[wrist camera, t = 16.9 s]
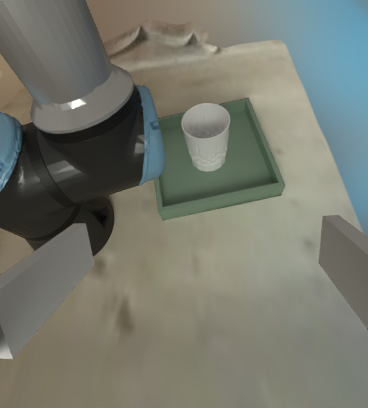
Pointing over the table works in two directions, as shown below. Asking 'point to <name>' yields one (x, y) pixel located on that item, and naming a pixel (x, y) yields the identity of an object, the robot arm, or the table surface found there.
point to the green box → (221, 178)
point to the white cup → (206, 135)
